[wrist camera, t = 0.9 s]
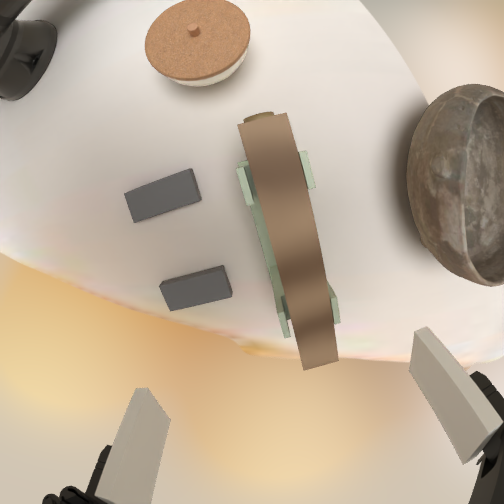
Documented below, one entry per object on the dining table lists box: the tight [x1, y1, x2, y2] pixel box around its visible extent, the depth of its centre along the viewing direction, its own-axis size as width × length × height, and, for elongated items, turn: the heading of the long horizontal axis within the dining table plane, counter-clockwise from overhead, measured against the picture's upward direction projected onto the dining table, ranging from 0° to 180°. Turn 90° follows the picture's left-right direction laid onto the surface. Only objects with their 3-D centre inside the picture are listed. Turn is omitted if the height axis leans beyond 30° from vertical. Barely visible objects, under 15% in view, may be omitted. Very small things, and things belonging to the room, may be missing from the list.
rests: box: [124, 169, 232, 311], centre depth 34 cm, size 17×9×2 cm, turn 16°
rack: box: [236, 151, 340, 338], centre depth 28 cm, size 17×6×12 cm, turn 16°
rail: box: [237, 112, 338, 370], centre depth 23 cm, size 23×4×5 cm, turn 16°
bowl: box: [406, 84, 504, 287], centre depth 24 cm, size 24×24×15 cm
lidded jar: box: [145, 0, 250, 86], centre depth 22 cm, size 11×11×9 cm
